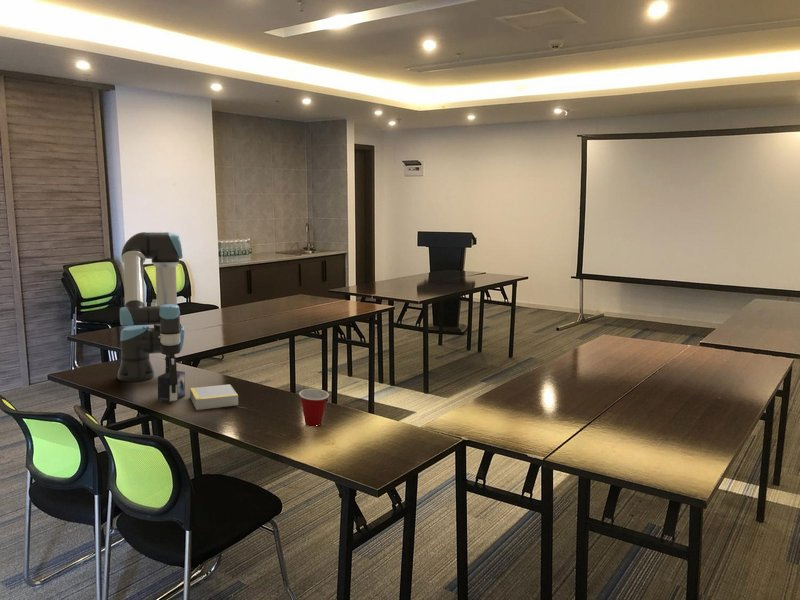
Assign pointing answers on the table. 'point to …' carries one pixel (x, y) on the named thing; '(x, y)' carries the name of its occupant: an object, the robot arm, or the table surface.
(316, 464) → the table surface
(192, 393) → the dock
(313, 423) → the plastic cup
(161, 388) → the small box
